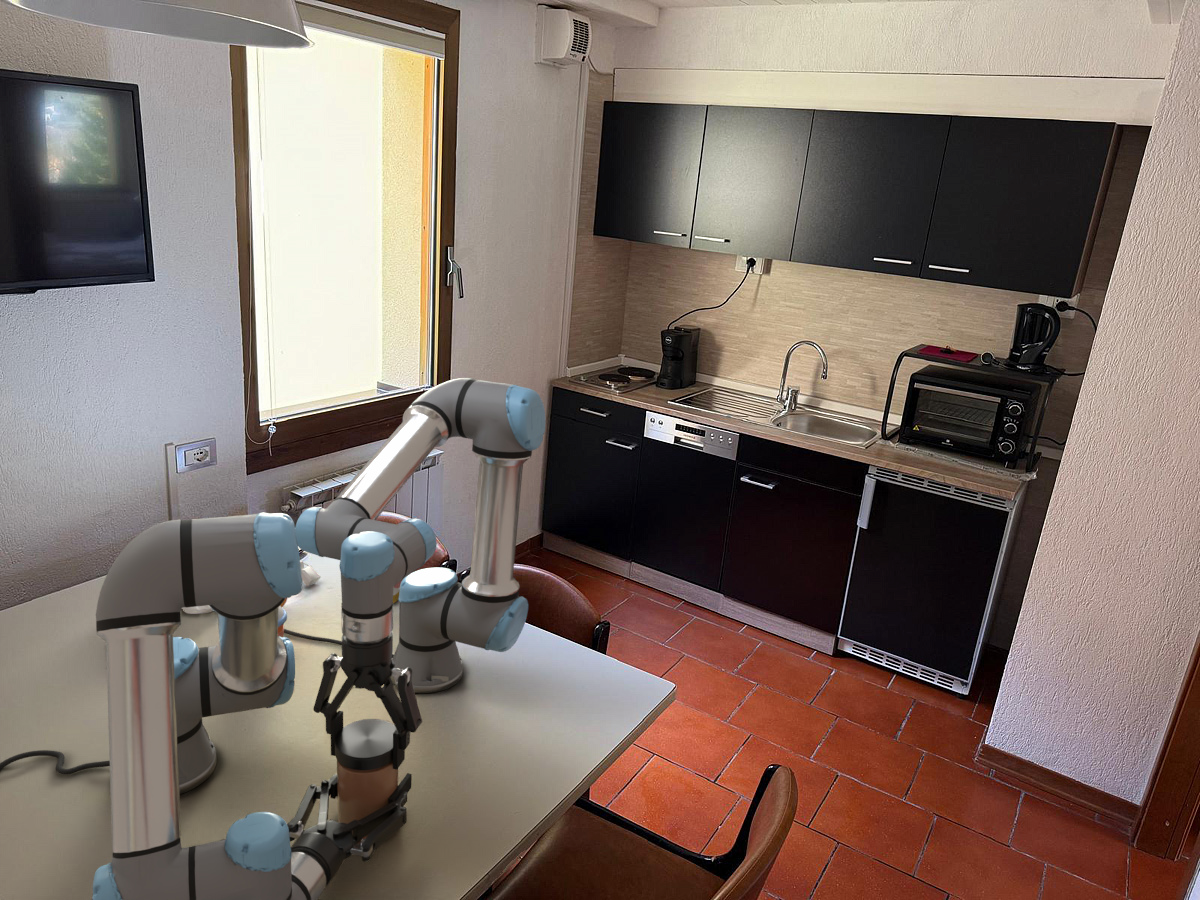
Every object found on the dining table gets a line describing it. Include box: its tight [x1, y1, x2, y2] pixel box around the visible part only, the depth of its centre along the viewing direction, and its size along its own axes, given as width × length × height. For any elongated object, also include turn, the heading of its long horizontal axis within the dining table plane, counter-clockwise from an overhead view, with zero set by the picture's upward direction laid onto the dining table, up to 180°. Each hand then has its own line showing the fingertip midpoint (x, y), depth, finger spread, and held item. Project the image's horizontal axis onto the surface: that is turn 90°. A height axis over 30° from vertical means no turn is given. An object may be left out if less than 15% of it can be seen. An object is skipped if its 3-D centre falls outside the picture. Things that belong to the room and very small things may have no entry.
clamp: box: [300, 560, 322, 587], centre depth 219 cm, size 20×4×7 cm, turn 62°
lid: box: [334, 718, 396, 770], centre depth 135 cm, size 10×10×2 cm
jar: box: [336, 760, 399, 844], centre depth 138 cm, size 10×10×15 cm
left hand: (381, 773), depth 142 cm, fingers closed on jar, 9 cm apart
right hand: (367, 757), depth 136 cm, fingers closed on lid, 10 cm apart
